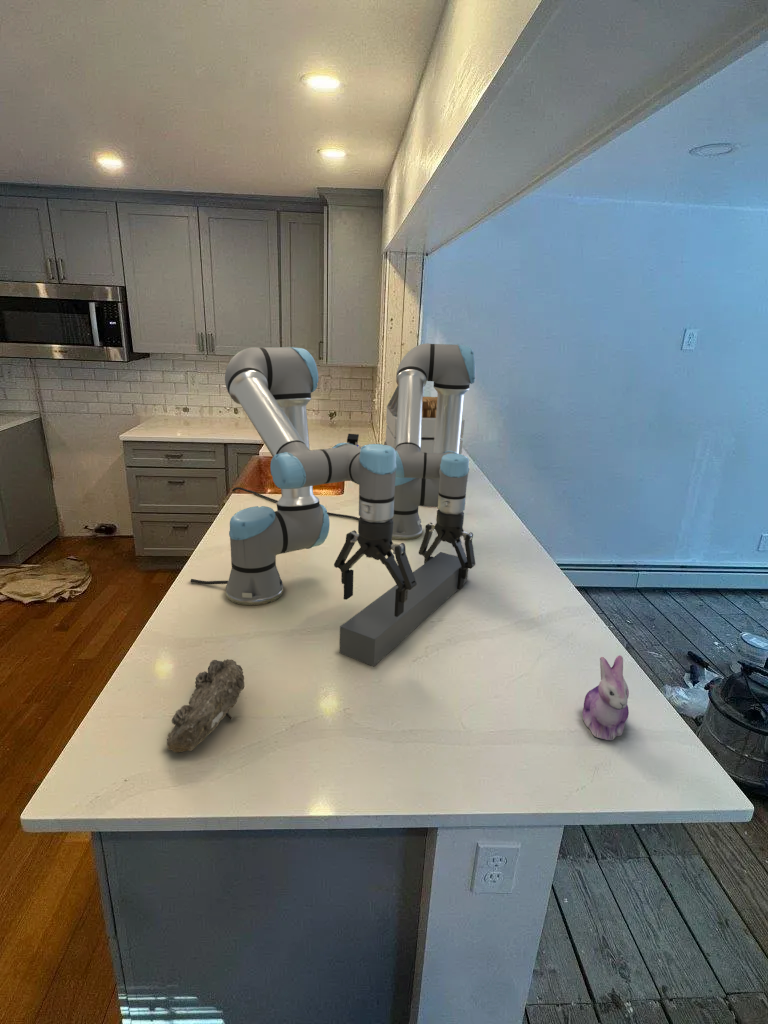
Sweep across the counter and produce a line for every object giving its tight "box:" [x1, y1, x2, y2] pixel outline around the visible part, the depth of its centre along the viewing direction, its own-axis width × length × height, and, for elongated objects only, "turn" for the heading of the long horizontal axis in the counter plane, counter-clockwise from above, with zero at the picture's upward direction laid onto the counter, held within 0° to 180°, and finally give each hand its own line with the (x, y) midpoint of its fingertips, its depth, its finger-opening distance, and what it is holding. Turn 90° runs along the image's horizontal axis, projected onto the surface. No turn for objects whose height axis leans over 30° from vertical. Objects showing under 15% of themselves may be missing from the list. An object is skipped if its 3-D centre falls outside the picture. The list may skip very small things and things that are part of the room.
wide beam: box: [338, 551, 469, 667], centre depth 147 cm, size 52×9×7 cm, turn 149°
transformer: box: [383, 385, 465, 455], centre depth 268 cm, size 34×33×41 cm
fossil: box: [166, 658, 245, 754], centre depth 106 cm, size 22×10×15 cm
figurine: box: [581, 654, 630, 741], centre depth 108 cm, size 9×10×15 cm
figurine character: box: [346, 433, 360, 447], centre depth 314 cm, size 7×8×15 cm
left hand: (373, 605), depth 128 cm, fingers open, 13 cm apart
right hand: (444, 582), depth 164 cm, fingers closed on wide beam, 9 cm apart
